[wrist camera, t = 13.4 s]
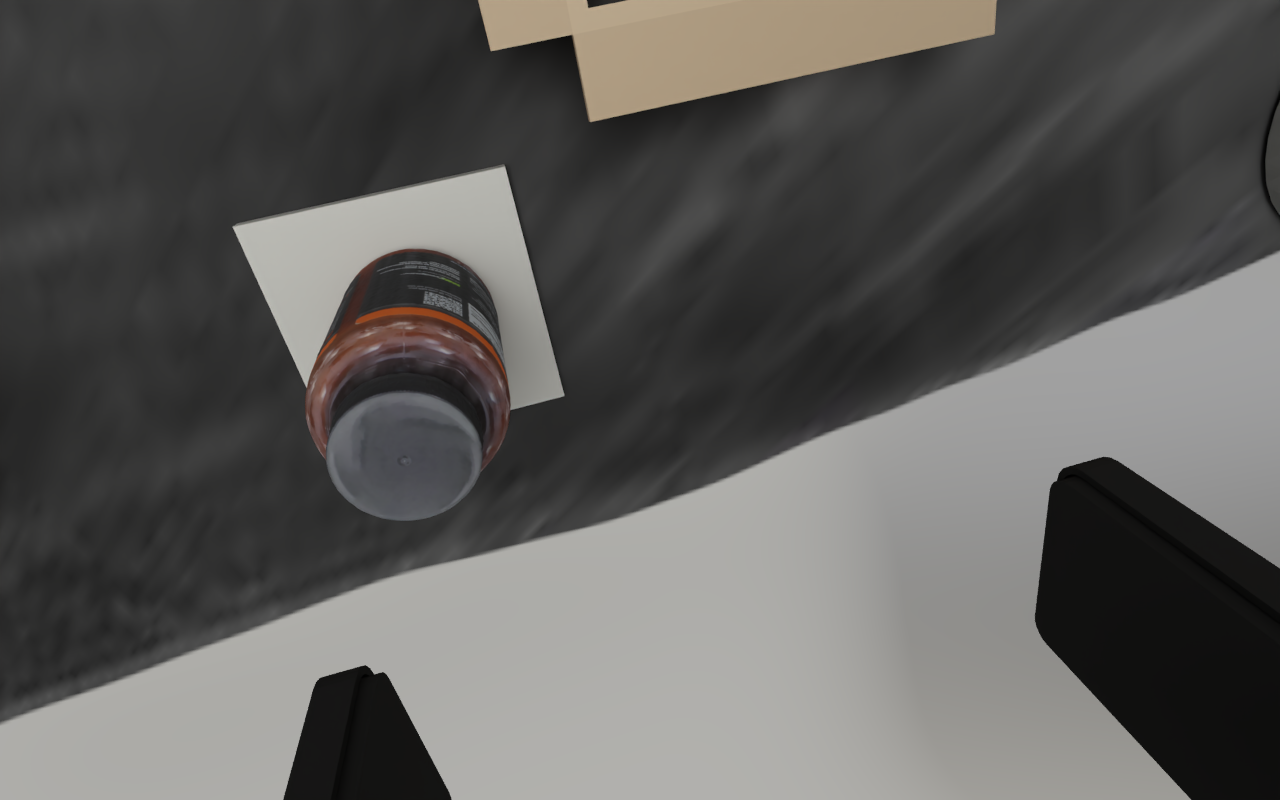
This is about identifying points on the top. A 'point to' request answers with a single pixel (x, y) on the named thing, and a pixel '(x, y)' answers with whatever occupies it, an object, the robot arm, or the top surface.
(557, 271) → the top surface
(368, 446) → the supplement bottle
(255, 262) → the mat
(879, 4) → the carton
